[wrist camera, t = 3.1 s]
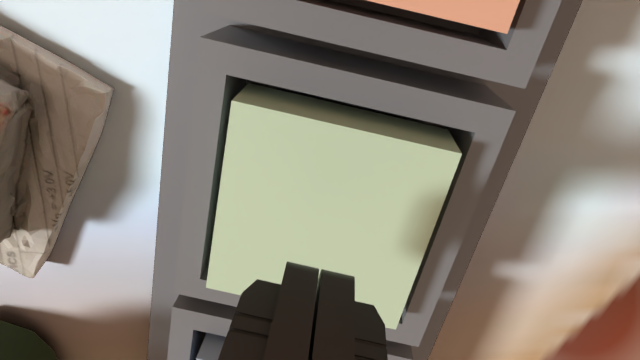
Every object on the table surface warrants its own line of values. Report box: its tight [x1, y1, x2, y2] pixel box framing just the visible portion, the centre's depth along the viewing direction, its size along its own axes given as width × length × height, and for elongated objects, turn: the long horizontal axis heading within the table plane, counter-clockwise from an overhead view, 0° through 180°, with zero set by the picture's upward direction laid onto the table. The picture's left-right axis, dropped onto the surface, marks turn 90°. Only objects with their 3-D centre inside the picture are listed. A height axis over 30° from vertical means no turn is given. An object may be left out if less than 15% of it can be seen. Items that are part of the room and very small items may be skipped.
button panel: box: [147, 0, 582, 360], centre depth 16 cm, size 28×12×5 cm, turn 168°
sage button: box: [206, 83, 462, 330], centre depth 14 cm, size 6×6×2 cm
